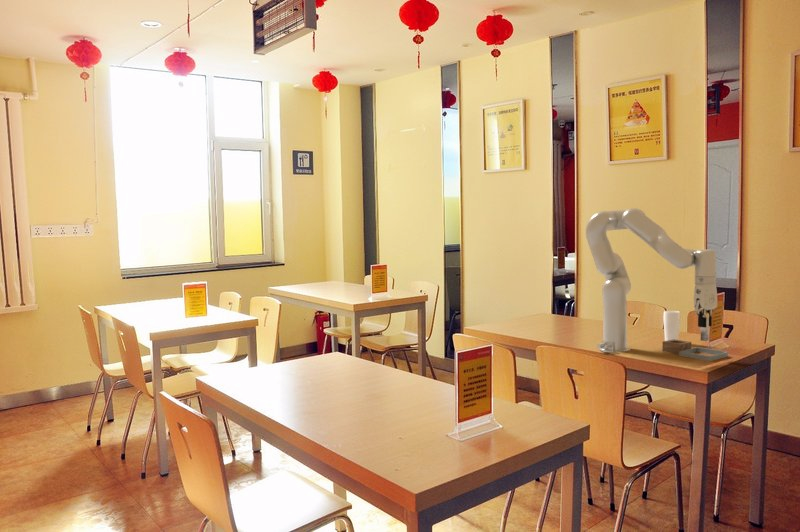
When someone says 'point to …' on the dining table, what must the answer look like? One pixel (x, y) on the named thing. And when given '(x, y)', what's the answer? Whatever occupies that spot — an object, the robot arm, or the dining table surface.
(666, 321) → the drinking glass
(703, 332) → the pin
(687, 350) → the tray
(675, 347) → the pin block
